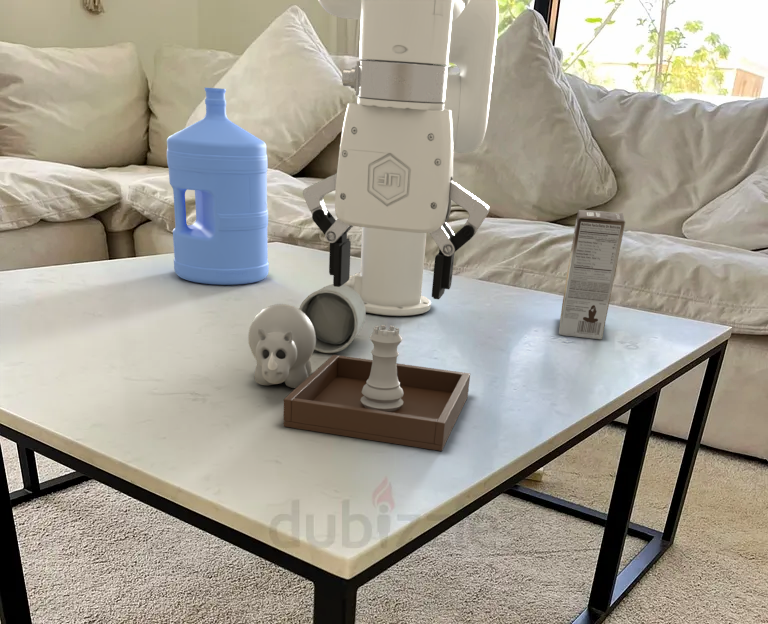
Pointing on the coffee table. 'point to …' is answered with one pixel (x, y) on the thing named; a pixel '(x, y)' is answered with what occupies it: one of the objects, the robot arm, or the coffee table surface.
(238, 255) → the water jug
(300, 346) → the round bodied animal figurine
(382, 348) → the rook chess piece
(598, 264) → the coffee box
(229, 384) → the coffee table surface
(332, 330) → the ceramic mug
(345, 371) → the tray
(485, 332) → the coffee table surface
